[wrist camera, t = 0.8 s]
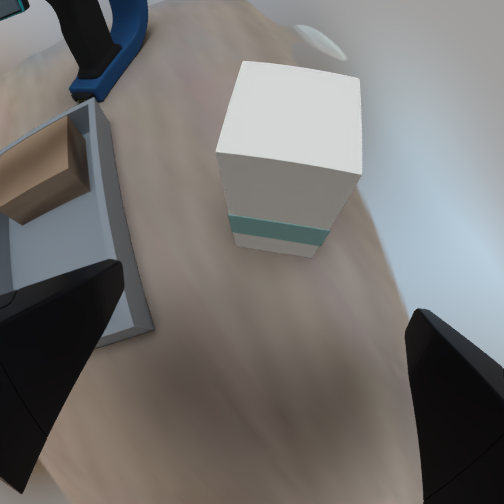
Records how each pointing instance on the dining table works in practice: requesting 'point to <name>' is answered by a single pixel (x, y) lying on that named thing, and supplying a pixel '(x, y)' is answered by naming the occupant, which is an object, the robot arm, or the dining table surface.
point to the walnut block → (43, 172)
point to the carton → (289, 155)
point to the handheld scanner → (95, 39)
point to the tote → (79, 231)
